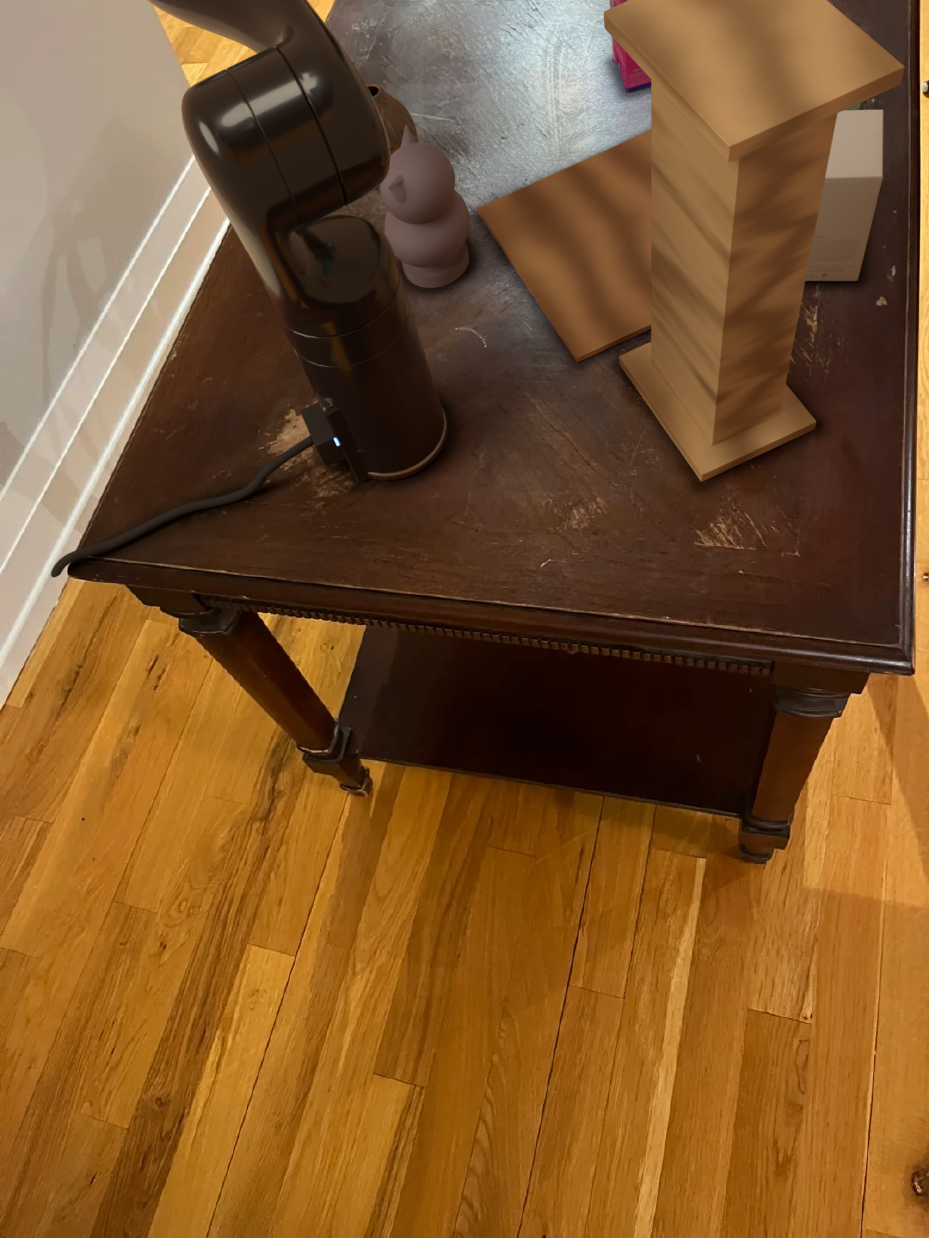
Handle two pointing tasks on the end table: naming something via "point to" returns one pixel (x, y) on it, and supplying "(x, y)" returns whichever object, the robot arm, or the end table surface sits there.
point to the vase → (392, 116)
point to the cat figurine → (425, 214)
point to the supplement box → (628, 64)
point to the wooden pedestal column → (736, 205)
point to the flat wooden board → (585, 245)
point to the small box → (848, 196)
